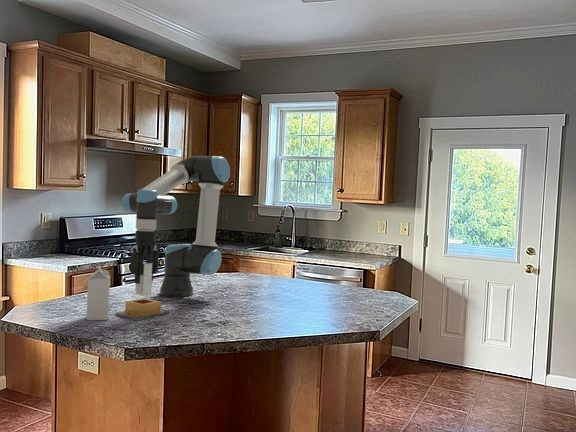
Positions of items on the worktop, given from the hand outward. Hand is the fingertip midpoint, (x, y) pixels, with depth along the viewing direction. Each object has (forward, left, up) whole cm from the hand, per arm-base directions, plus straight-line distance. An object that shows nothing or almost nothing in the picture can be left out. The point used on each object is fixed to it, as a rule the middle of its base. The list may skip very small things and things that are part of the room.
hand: (143, 291), depth 200 cm
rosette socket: (0, 0, -9) cm, 9 cm away
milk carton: (+15, -7, -9) cm, 19 cm away
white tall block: (0, 0, -1) cm, 1 cm away
